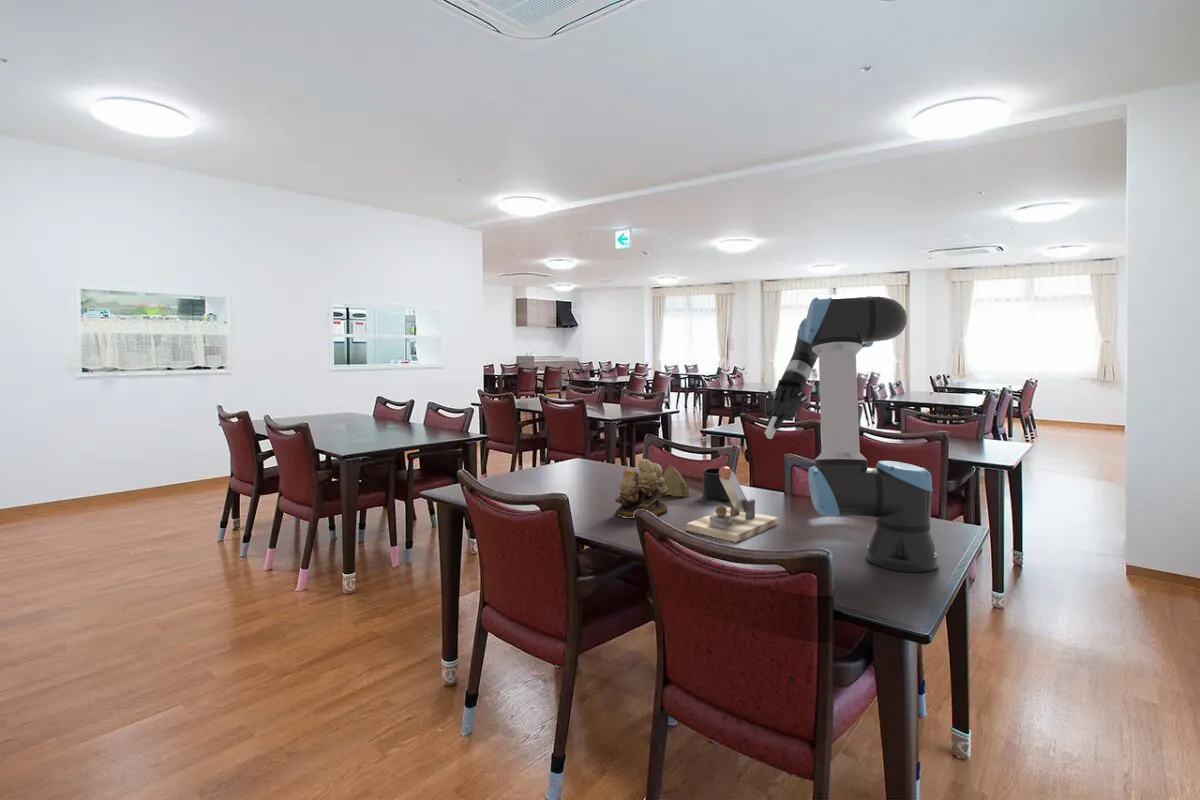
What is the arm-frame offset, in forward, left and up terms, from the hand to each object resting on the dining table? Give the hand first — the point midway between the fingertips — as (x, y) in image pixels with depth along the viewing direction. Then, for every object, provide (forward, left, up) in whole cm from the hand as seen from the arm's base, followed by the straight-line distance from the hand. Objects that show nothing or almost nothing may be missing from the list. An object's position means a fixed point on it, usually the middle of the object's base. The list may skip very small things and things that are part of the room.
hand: (768, 435), depth 186 cm
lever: (-7, +12, -19) cm, 24 cm away
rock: (+29, +19, -24) cm, 42 cm away
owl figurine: (+12, +36, -24) cm, 45 cm away
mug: (+20, +6, -24) cm, 32 cm away
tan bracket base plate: (-10, +17, -24) cm, 31 cm away
